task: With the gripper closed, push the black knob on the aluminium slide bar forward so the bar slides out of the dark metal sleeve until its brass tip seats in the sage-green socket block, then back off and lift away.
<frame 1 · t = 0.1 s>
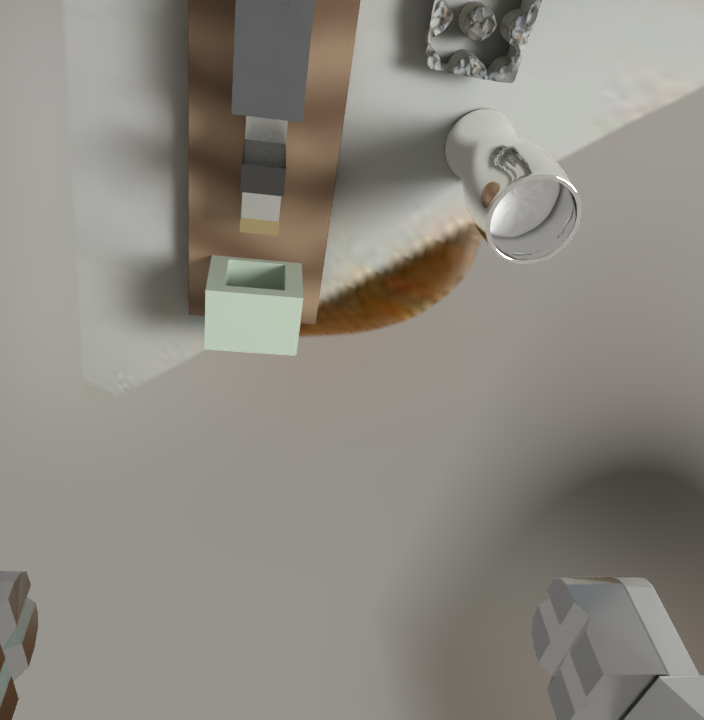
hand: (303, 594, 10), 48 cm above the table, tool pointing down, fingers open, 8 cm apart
slip tube: (268, 103, 45), point 6 cm above the table, slide at 0.0 cm
sleeve: (271, 49, 46), on the base board, point 4 cm above the table
base board: (263, 166, 55), on the table
socket: (255, 279, 61), resting on base board
beer glass: (479, 144, 55), on the table
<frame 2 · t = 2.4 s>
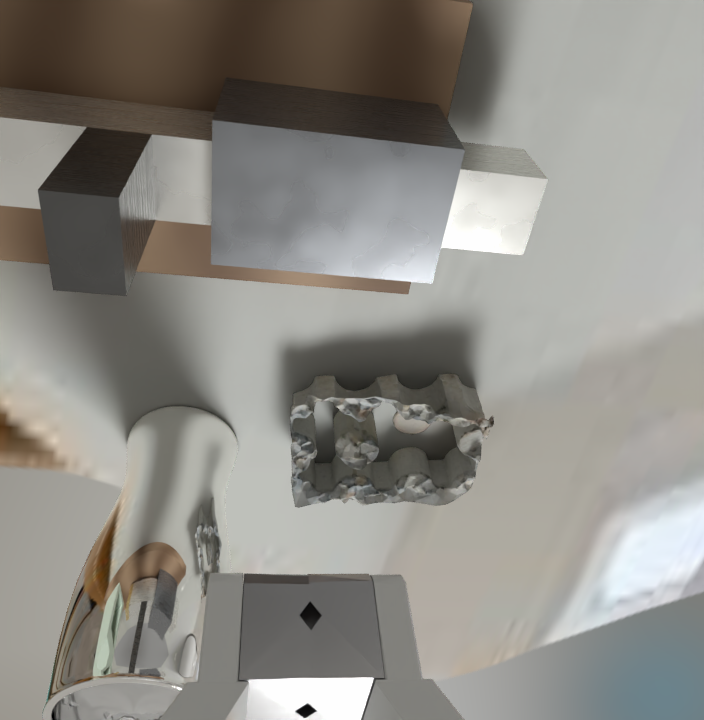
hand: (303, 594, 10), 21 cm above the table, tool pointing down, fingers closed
slip tube: (242, 200, 21), point 6 cm above the table, slide at 0.0 cm
egg carton: (382, 417, 37), on the table
sleeve: (329, 180, 24), on the base board, point 4 cm above the table
base board: (73, 114, 26), on the table
beer glass: (184, 442, 37), on the table
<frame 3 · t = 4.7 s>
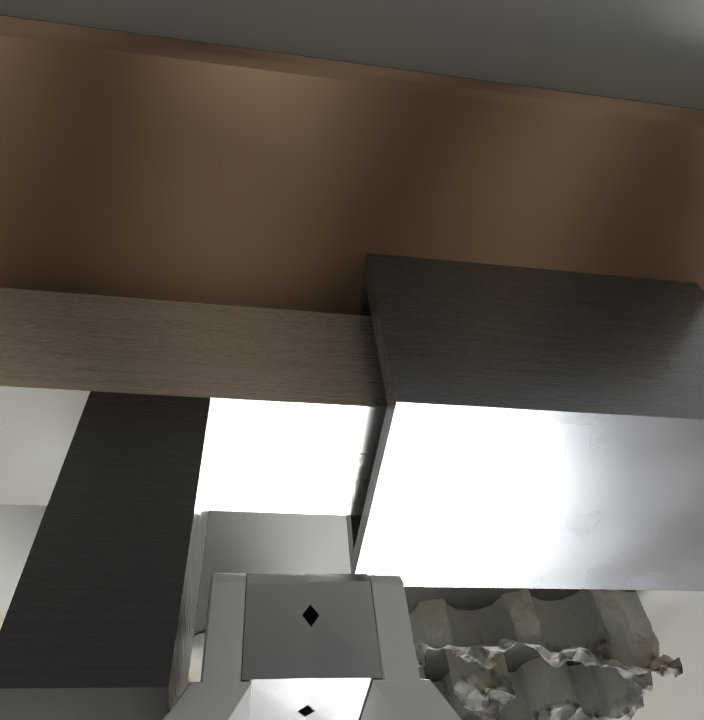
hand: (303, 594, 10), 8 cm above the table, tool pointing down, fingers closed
slip tube: (372, 504, 12), point 6 cm above the table, slide at 1.0 cm, touching gripper
egg carton: (507, 626, 28), on the table
sleeve: (537, 422, 14), on the base board, point 4 cm above the table
base board: (107, 292, 16), on the table
beer glass: (241, 659, 27), on the table
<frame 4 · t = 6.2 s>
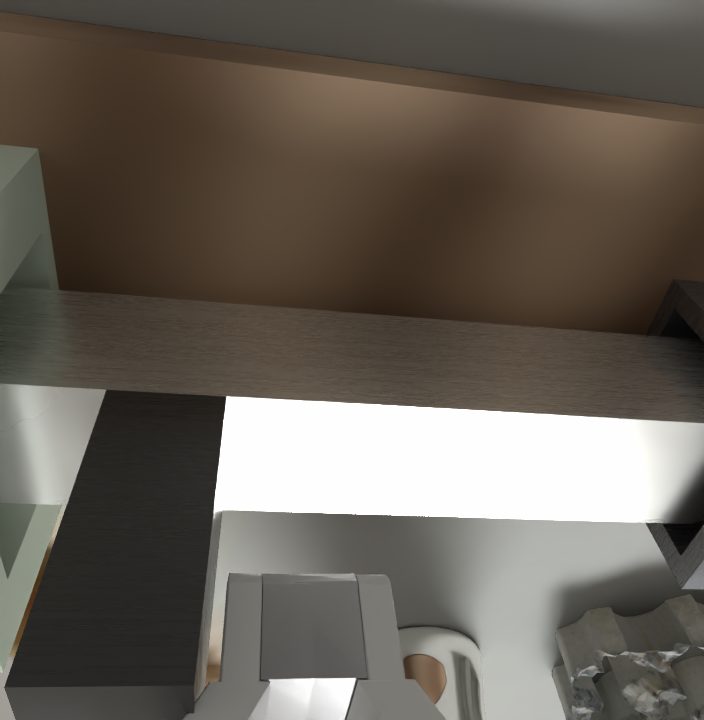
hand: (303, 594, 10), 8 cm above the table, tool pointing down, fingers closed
slip tube: (387, 503, 12), point 6 cm above the table, slide at 8.1 cm, touching gripper
egg carton: (662, 629, 29), on the table
base board: (398, 313, 17), on the table
beer glass: (410, 658, 29), on the table
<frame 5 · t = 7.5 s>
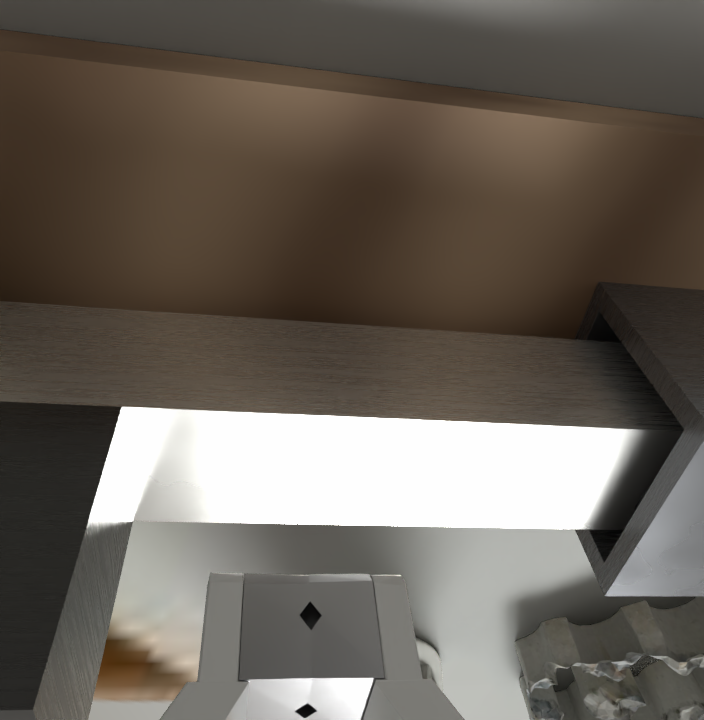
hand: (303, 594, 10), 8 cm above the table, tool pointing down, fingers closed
slip tube: (291, 513, 12), point 6 cm above the table, slide at 8.0 cm
egg carton: (626, 635, 29), on the table
base board: (327, 317, 17), on the table
beer glass: (370, 664, 28), on the table
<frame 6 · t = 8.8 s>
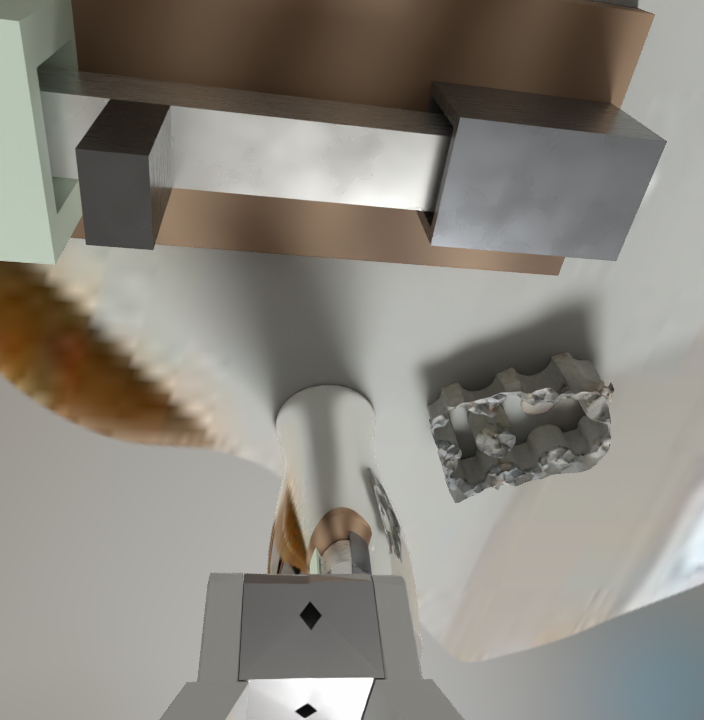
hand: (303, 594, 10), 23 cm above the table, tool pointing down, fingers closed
slip tube: (254, 166, 23), point 6 cm above the table, slide at 8.0 cm
egg carton: (510, 405, 41), on the table
sleeve: (524, 171, 27), on the base board, point 4 cm above the table
base board: (281, 115, 28), on the table
socket: (13, 84, 27), resting on base board
beer glass: (325, 419, 40), on the table
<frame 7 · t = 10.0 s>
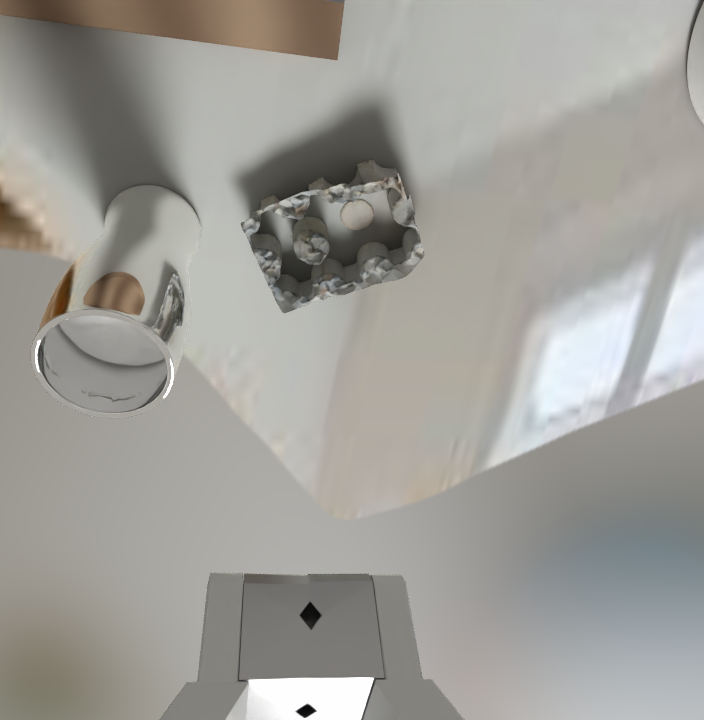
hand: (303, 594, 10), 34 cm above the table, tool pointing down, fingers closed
egg carton: (334, 223, 44), on the table
beer glass: (154, 226, 43), on the table
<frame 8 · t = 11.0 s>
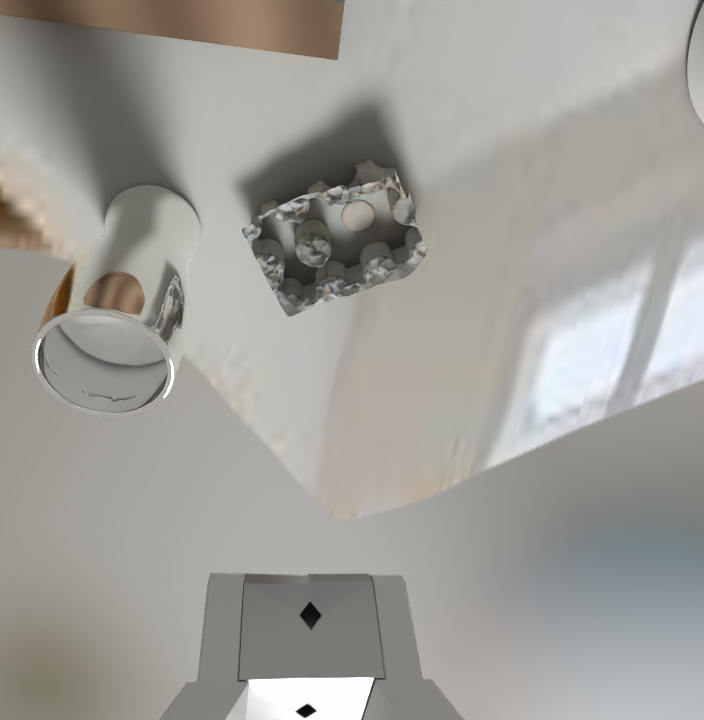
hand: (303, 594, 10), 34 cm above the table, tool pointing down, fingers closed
egg carton: (335, 224, 44), on the table
beer glass: (154, 226, 43), on the table
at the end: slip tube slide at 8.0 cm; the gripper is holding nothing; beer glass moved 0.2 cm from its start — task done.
